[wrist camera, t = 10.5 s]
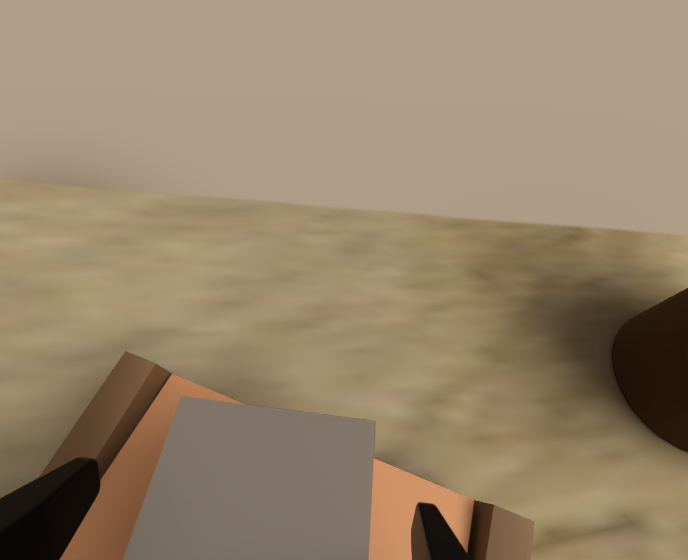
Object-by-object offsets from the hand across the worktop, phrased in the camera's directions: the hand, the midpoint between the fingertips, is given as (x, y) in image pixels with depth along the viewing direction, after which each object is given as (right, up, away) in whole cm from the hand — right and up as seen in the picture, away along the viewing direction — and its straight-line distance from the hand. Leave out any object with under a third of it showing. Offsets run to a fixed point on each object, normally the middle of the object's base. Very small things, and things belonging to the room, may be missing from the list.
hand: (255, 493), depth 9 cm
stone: (0, -4, +5) cm, 7 cm away
